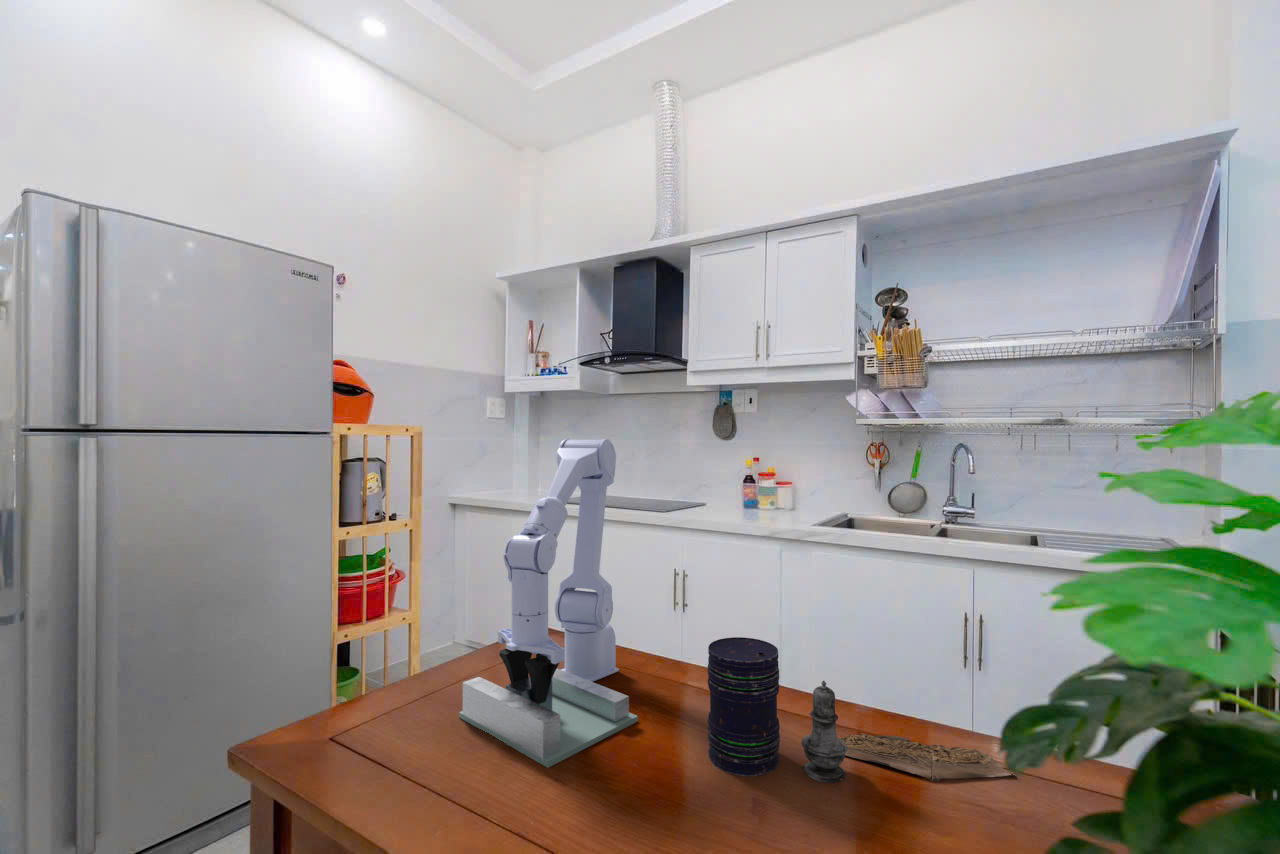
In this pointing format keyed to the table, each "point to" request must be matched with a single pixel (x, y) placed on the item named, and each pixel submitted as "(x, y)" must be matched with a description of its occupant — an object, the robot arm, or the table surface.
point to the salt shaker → (824, 739)
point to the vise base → (572, 730)
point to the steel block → (529, 691)
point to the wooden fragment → (923, 757)
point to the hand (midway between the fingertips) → (529, 697)
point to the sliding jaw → (590, 695)
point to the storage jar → (743, 706)
